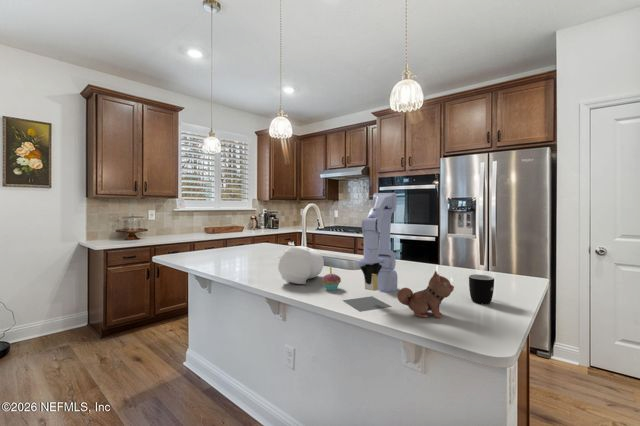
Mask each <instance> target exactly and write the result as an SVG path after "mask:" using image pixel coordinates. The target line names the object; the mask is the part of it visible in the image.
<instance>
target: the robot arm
mask: <svg viewBox="0 0 640 426" xmlns="http://www.w3.org/2000/svg"><path fill="white" fill-rule="evenodd" d="M397 199H398V198H397V194H396V192H374V194H373V196H372V204H373V207H372V208H370V210H369V212H368V214H367V216H366V217H364V219H362V220H361V230H362V231H361V232H362V237H363V258H362V259H359V260H355V267H356V268H357V267H358V268H360V270H361V272H362V274H363V277H365V278H364V282H365V281H366V283H367V284H371V278H372V274H377V283H378V290H376V291H378V292H380V293H385V292H392V291H399V288H398V272H397V271H396V269H395V268H396V263H397V262H396V253H395V252H394V251H393V250H392V249H390V243H391V242H390V241H391V228H392V227H391V226H392V225H391V224H392V215H393V213H395V212H396V211H397Z"/></svg>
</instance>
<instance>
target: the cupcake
mask: <svg viewBox="0 0 640 426" xmlns="http://www.w3.org/2000/svg"><path fill="white" fill-rule="evenodd" d="M321 279H322V282H323V284H324V285H325V286H324V287H325V289H326V290H327V291H337V290H338V288H339V285H340V283H341V282H342V280H341V279H342V278H341V277H340V276H339V275H338V274H334V273H333V272H332V264H330V265H329V273H328V274H325V275H324V276H323V277H322V278H321Z"/></svg>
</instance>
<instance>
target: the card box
mask: <svg viewBox="0 0 640 426" xmlns="http://www.w3.org/2000/svg"><path fill="white" fill-rule="evenodd" d="M363 277H364V276H363ZM364 279H365V277H364ZM364 289H365V290H368V291H374V292H375V291H377V290H378V283H377V274H372V278H371V284H367V283H366V281H365V280H364Z"/></svg>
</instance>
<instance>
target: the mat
mask: <svg viewBox="0 0 640 426" xmlns="http://www.w3.org/2000/svg"><path fill="white" fill-rule="evenodd" d="M341 301H343V302H344V303H345V304H347V305H349V306H350V307H351V308H353V309H355V310H356V311H358V312H366V311H372V310H381V309H386V308H392V305H390V304H388V303H386V302H384V301H382V300H380V299H378V298H377V297H374V296H365V297H356V298H349V299H342V300H341Z"/></svg>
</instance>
